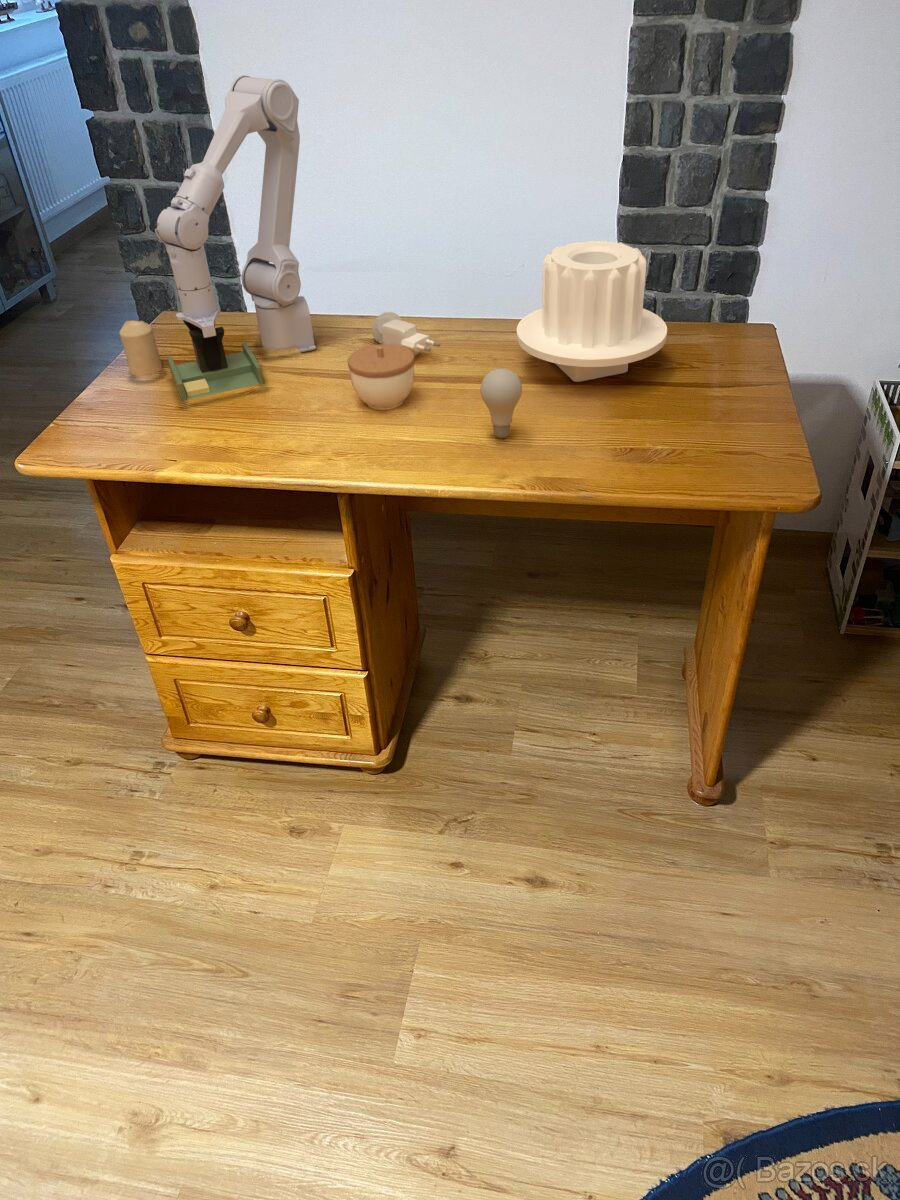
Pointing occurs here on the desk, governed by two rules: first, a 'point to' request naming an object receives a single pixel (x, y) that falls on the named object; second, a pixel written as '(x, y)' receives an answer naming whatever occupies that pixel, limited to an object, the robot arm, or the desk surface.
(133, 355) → the candle
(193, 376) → the shelf
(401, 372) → the trinket box
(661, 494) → the desk surface
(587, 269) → the flanged gear
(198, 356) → the holder
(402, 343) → the power adapter
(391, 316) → the grey rounded piece
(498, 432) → the lightbulb
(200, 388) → the note pad
